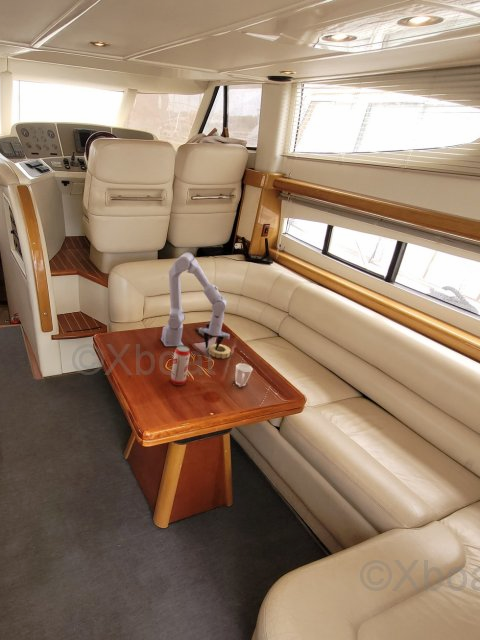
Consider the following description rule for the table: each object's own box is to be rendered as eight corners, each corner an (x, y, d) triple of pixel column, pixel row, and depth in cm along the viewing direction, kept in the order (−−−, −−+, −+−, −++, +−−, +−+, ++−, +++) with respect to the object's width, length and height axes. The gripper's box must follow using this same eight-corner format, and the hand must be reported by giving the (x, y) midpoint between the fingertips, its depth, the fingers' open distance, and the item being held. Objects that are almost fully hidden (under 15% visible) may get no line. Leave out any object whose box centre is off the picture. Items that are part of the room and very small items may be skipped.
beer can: (185, 379, 164) (190, 345, 156) (185, 387, 158) (190, 353, 150) (170, 377, 164) (175, 343, 156) (170, 385, 159) (174, 351, 151)
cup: (248, 381, 167) (253, 365, 163) (248, 393, 158) (252, 376, 154) (232, 377, 168) (236, 361, 164) (231, 389, 159) (235, 373, 155)
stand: (202, 337, 201) (204, 327, 198) (195, 329, 209) (197, 320, 206) (218, 336, 204) (219, 326, 201) (211, 329, 211) (212, 319, 208)
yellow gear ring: (213, 359, 181) (214, 354, 180) (204, 348, 190) (205, 344, 189) (233, 357, 184) (234, 353, 183) (224, 347, 193) (224, 343, 192)
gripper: (232, 323, 182) (227, 348, 189) (202, 317, 186) (198, 342, 192) (230, 328, 176) (225, 354, 183) (199, 322, 180) (195, 347, 187)
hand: (211, 348), depth 187 cm, fingers open, 4 cm apart
